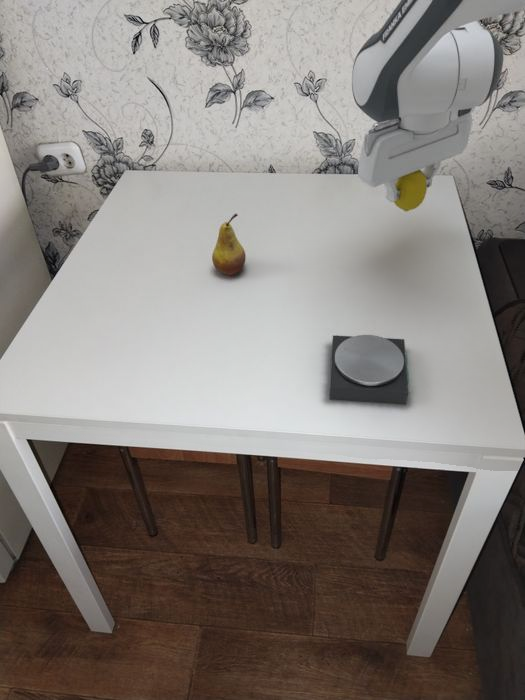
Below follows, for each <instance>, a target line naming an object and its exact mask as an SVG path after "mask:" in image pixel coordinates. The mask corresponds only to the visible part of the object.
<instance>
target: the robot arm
mask: <svg viewBox="0 0 525 700" xmlns="http://www.w3.org/2000/svg"><path fill="white" fill-rule="evenodd" d="M521 11H525V0H400V1H399V2H398V4H397V5H396V7H395V8H394V10H393V11H392V12H391V14H390V15H389V17H388V18H387V20H386V21H385V22H384V24H383V25H382V27H380V28H379V30H378V31H377V32H375V33H373V34H372V35H371V36H370V37H369V38H368V39H367V40H366V41H365V42H364V43H363V45H362V47H361V48H360V49H359V51H358V53H357V54H356V56H355V58H354V62H353V66H352V72H351V90H352V96H353V100H354V102H355V104H356V106H357V107H358V108H359V109H360V111H362V113H364V114H365V115H366V116H367V117H369V118H370V119H372V120H373V121H375V122H374V123H373V124H372V125H371V128H369V130H367V132H366V133H365V135H364V137H363V142H362V146H361V149H360V155H359V160H358V167H357V177H358V178H359V179H360V180H361V182H363V183H365V184H366V185H368V186H369V187H371V188H372V187H373V188H377V187H379V186H382V185H384V188H385V189H386V192H385V193H386V196H385V198H386V200H387V201H389V202H391V203H394V201H396V200H399V199H400V194H401V190H400V189H397V188H396V186H395V184H396V183H397V182H398V178H399V177H402V176H405V175H407V174H410V173H412V172H415V171H417V170H422V169H424V170H423V171H422V172H423V174H424V175H425V178H426V182H427V189H428V188H431V187H432V185H433V180H434V177H435V176H436V173H438V170H439V169H440V167H441V163H442V162H443V161H445V160H448V159H451V158H453V157H455V156H458V155H461V154H463V152H464V151H465V150H466V148H467V146H468V144H469V141H470V135H471V130H472V126H473V115H472V114H473V113H474V111H475V109H476V107H481V106H482V105H484V104H485V103H486V102H487V101H488V100H489V99H490V97H491V96H492V95H493V93H494V92H495V90H496V88H497V86H498V85H499V82H500V80H501V75H502V71H503V67H504V66H503V65H504V49H503V47H502V44H501V43H500V41H499V40H498V38H497V37H496V36H495V34H494V33H492V32H491V31H490V30H489V29H487V28H485V27H482V25H480V23H479V22H478V21H481V20H484V19H488V18H489V19H490V18H492V17H497V16H502V15H506V14H511V13H515V12H516V13H517V12H521Z"/></svg>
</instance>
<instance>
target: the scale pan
mask: <svg viewBox="0 0 525 700" xmlns="http://www.w3.org/2000/svg"><path fill="white" fill-rule="evenodd" d="M385 338H386V337H382V336H379V335H374V334H360V335H355V336H353V337H351V338H349V339H347V340H345V341H343V342H342V343H341V344H340V345H339V346H338V348H337V350H336V352H335V365H336V367H337V369H338V371H339V372H340V373H341V374H342V375H343V376H344V377H345V378H347V379H348V380H350V381H352V382H354V383H357V384H360V385H366V386H379V385H384V384H387V383H389V382H391V381H393V380H395V379H396V378H397V377H398V376H399V375H400V373H401V372H402V370H403V365H404V358H403V355H402V352H401V351H400V349H399V348H398V347H397V346H396V345H395V344H394V343H392V342H391V341H389V340H387V339H385Z"/></svg>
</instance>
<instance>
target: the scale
mask: <svg viewBox="0 0 525 700" xmlns="http://www.w3.org/2000/svg"><path fill="white" fill-rule="evenodd" d="M351 337H354V336H350V335H336V334H335V335H332V340H331V359H330V360H331V361H330V378H329V379H330V380H329V400H331V401H346V402H357V403H358V402H359V403H372V404H373V403H375V404H388V405H390V404H391V405H404V406H405V405H406V404H407V399H408V395H409V384H410V377H409V364H408V354H406V345H405V344H406V343H405V339H404V338H390V337H389V338H388V337H384V338H385V339H387V340H389V341H391V342H392V343H394V344H395V345H396V346H397V347H398V348H399V349H400V351H401V352H402V355H403V358H404V365H403V370H402V372H401V373H400V375H399V376H398V377H397V378H396V379H395V380H393V381H391V382H389V383H387V384H384V385H379V386H366V385H360V384H357V383H354V382H352V381H350V380H348V379H347V378H345V377H344V376H343V375H342V374H341V373H340V372H339V371H338V369H337V367H336V365H335V352H336V350H337V348H338V346H339V345H340V344H341V343H342V342H343V341H345V340H347V339H349V338H351Z"/></svg>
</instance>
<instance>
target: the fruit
mask: <svg viewBox="0 0 525 700" xmlns="http://www.w3.org/2000/svg"><path fill="white" fill-rule="evenodd" d="M238 216H239V215H238V213H234V214H233V215H232V217H230V219H229V220H228V221H225V222H223V223H222V224H221V225H220V227H219V230H218V237H217V240H216V244H215V247H214V249H213V251H212V256H211V260H212V264H213V266H214V268H215V269H216V270H217V271H218V272H219V273H221V274H224V275H226V276H233V275H236V274H239V272H241V270H242V269H243V268H244V267H245V264H246V260H247V259H246V258H247V257H246V252H245V249H244V247H243V245H242V244H241V243H240V241H239V240H238V238H237V236H236V233H235V230H234V228H233V226H232V225H231V222H232V221H233V220H234V219H235V218H237V217H238Z"/></svg>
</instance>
